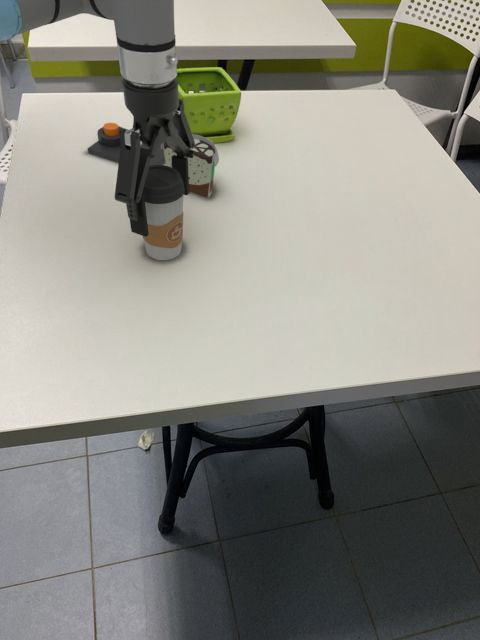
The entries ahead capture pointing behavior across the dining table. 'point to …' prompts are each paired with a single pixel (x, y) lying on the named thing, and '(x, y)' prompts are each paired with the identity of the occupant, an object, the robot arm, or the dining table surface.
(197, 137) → the food container
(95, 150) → the dark grey flat block
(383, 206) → the dining table surface
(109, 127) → the button
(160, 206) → the coffee cup
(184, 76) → the flower pot
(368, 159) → the dining table surface
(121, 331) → the dining table surface
